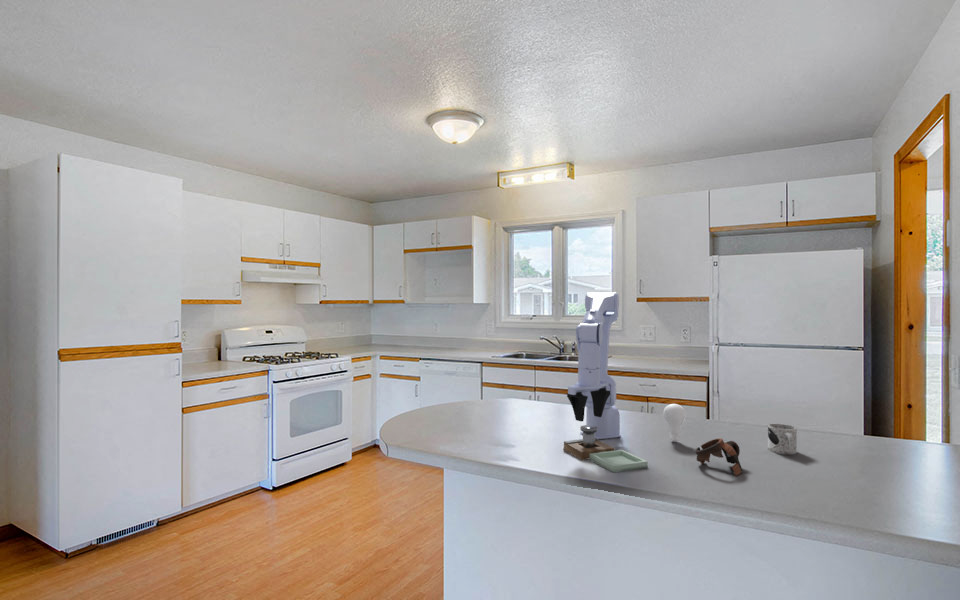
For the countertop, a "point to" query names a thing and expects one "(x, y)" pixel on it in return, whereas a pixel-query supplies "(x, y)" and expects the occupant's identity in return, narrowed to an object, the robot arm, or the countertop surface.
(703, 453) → the brown curved strap
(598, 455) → the tray
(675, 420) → the lightbulb
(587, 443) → the pin
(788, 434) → the mug
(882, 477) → the countertop surface
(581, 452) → the block
